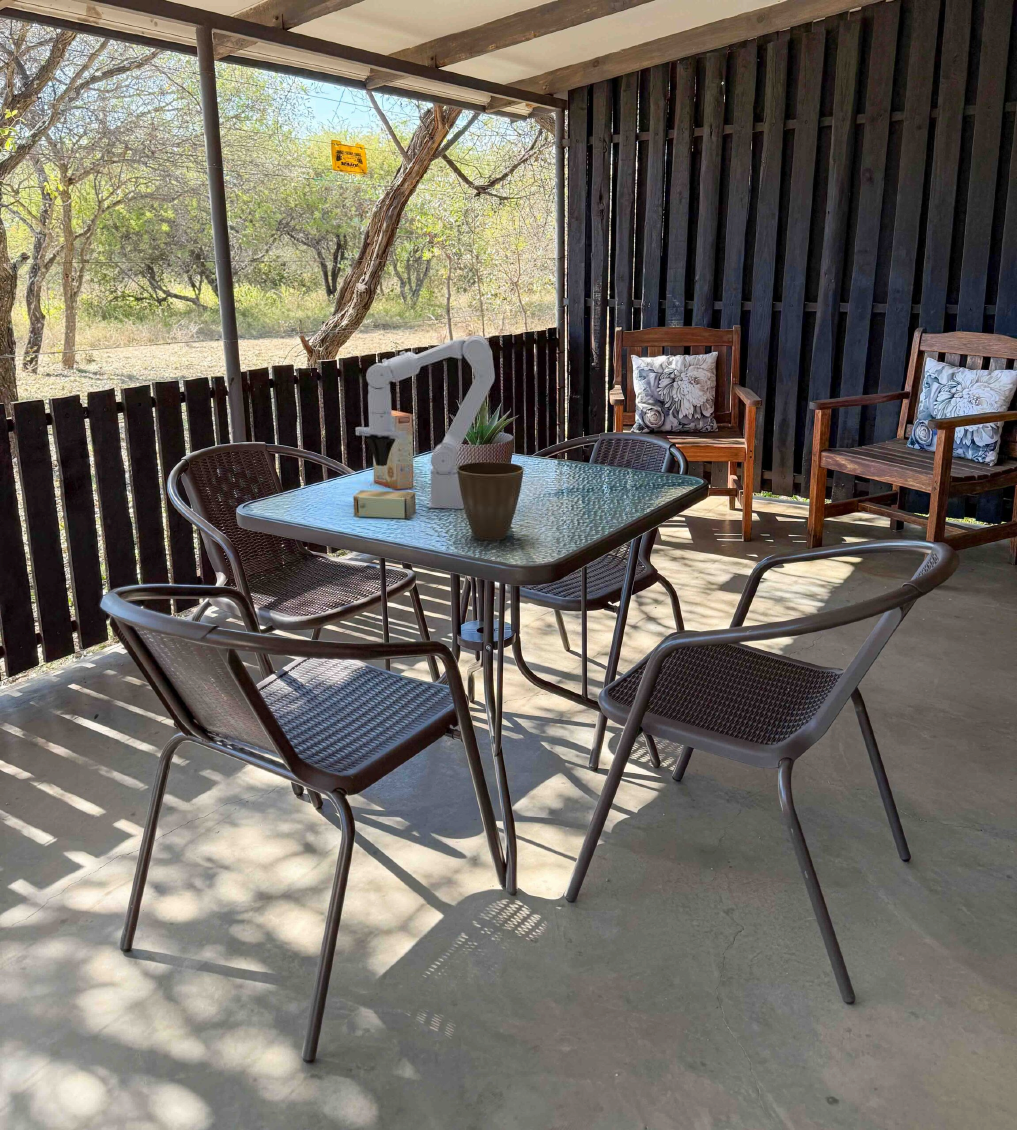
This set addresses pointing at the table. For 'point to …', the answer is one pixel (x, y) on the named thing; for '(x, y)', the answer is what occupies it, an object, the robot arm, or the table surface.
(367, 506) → the door
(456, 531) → the table surface
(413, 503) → the tan wooden crate
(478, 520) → the plant pot
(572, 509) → the table surface
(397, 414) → the cracker box
